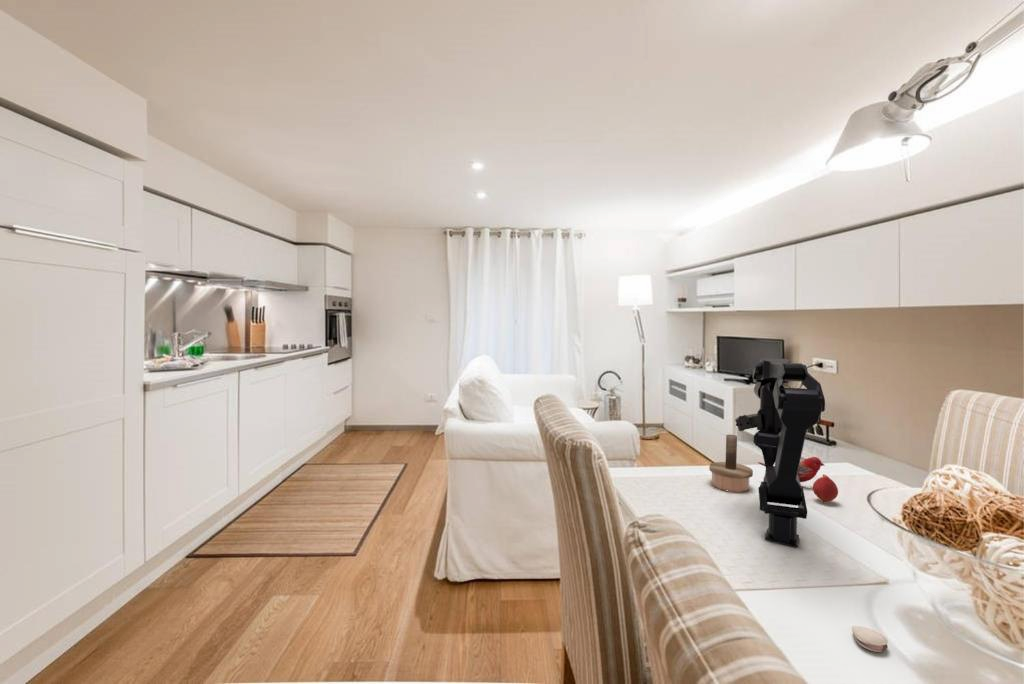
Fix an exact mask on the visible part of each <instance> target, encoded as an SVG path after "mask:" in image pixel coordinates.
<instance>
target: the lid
mask: <svg viewBox="0 0 1024 684" xmlns="http://www.w3.org/2000/svg"><path fill="white" fill-rule="evenodd" d="M737 451H738V435H735V434H726V435H725V461H715V462H711V463H709V466H708V467H709V468H708V469H709V471H710V473H711V474H712V473H714V474H717V475H720V476H724V477H728V478H737V479H744V478H749V479H750V478H752V477H753V475H754V471H753V469H752V468H751V467H750V466H747V465H744V464H741V463H737Z"/></svg>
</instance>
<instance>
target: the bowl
mask: <svg viewBox="0 0 1024 684" xmlns="http://www.w3.org/2000/svg"><path fill="white" fill-rule="evenodd" d="M711 474H712V475H711V483H712V486H713V485H714V486H713V487H715V488H716V487H717V488H716V489H718V488H720V489H719V490H721V489H723V490H722V491H725V490H728V491H727V492H730V491H733V492H732V493H744V492H743V491H745V492H747V490H748V491H749V487H750V478H744V479H737V478H728V477H724V476H720V475H717V474H714V473H712V472H711Z"/></svg>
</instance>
